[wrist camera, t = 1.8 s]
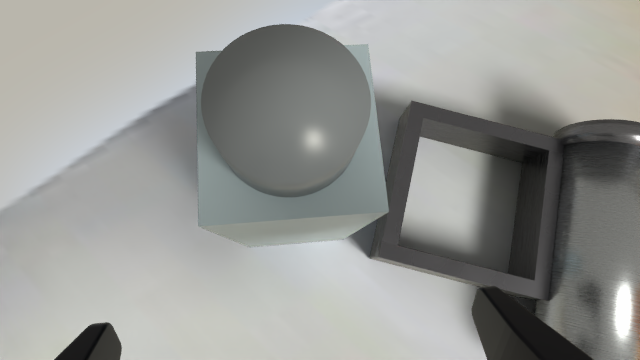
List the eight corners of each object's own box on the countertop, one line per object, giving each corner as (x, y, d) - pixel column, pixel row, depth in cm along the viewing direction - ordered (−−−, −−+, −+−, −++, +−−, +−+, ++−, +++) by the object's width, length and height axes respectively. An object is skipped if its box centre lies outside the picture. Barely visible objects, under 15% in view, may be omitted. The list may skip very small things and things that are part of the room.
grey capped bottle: (343, 239, 21) (409, 199, 9) (249, 247, 21) (174, 216, 8) (334, 150, 22) (382, -1, 10) (245, 156, 22) (174, 7, 9)
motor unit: (594, 389, 20) (684, 426, 15) (354, 327, 20) (371, 344, 16) (610, 162, 23) (690, 135, 18) (401, 108, 23) (428, 67, 18)
